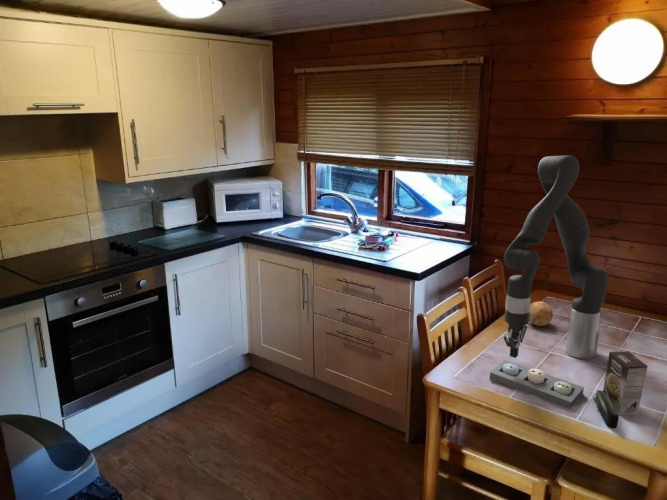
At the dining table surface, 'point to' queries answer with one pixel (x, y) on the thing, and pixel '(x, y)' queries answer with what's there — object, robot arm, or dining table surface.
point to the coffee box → (624, 381)
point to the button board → (537, 386)
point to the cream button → (536, 376)
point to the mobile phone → (606, 409)
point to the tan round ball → (540, 314)
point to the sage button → (563, 388)
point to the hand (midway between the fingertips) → (513, 356)
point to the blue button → (510, 369)
